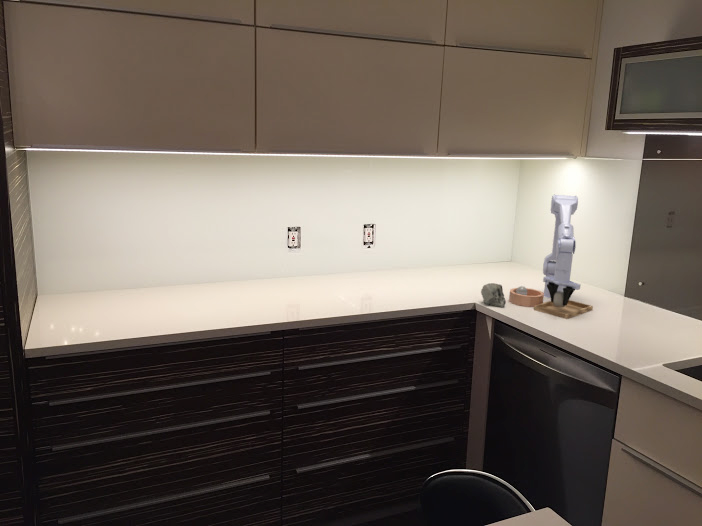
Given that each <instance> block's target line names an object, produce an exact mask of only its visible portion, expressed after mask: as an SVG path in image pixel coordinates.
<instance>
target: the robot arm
mask: <svg viewBox="0 0 702 526" xmlns="http://www.w3.org/2000/svg"><path fill="white" fill-rule="evenodd" d="M550 202H551V203H550V213H551V214H552V215H554V217H555V222H554V223H555V224H554V231H553V240H552V248H551V249H552V250H551V251H552V252H551V253H549V254H547V255H546V256H545V257H544V259H543V266H542V267H543V268H542V274H543V275H544V276H543V279H542V283H544V289H543V293H544V297H546V298H550V301H551V302H552V303H553V299H554V294H555V293H556V292H558V291H561V292H563V294H564V297H563V305H564V306H565V305H567V303H568V301H569V300H570V298H571V296H572V294H573V293H574V292H575V290H576V291H578V290H581V284H580V283H578V282H574V281H572V280H571V273H572V272H571V271H572V264H573V257H574V256H573V255H574V254H575V252H576V248H577V247H576V246H577V242H576V238H575V233H574V226H573V225H572V224H571V220H572V215H574V214H575V213H576V211H577V210H578V204H579V197H578V196H577V195H565V194H553V195H551V201H550Z"/></svg>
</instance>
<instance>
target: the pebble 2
mask: <svg viewBox="0 0 702 526" xmlns="http://www.w3.org/2000/svg"><path fill="white" fill-rule="evenodd" d="M563 297H564V294H563V292H561V291H558V292H556V293H555V294H554V299H553V306H555V307H560V308H562V307H565V306H564V305H563Z"/></svg>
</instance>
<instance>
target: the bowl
mask: <svg viewBox="0 0 702 526" xmlns="http://www.w3.org/2000/svg"><path fill="white" fill-rule="evenodd" d="M517 288H518V287H514V288H510V290H509V297H508V302H509V303H511V304H513V305H516V306H521V307H526V308H534V306H535V305H539V304H542V303H544V297H545V296H544V291H543V292H542V291H541V290H538V289H534V288H528V287H525V288H526V289H527V295H521V294H517V293H516V290H517Z"/></svg>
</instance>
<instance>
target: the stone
mask: <svg viewBox="0 0 702 526" xmlns="http://www.w3.org/2000/svg"><path fill="white" fill-rule="evenodd" d="M480 293H481V296H482V299H483V303H484V304H485V305H489V304H490V306H491V305H492V306H496V307H500V308H504V307H505V306H506V298H505V294H504V292H503V285H502V284H498V283H495V282H494V283H486V284H483V286H482V288H481V289H480Z"/></svg>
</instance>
